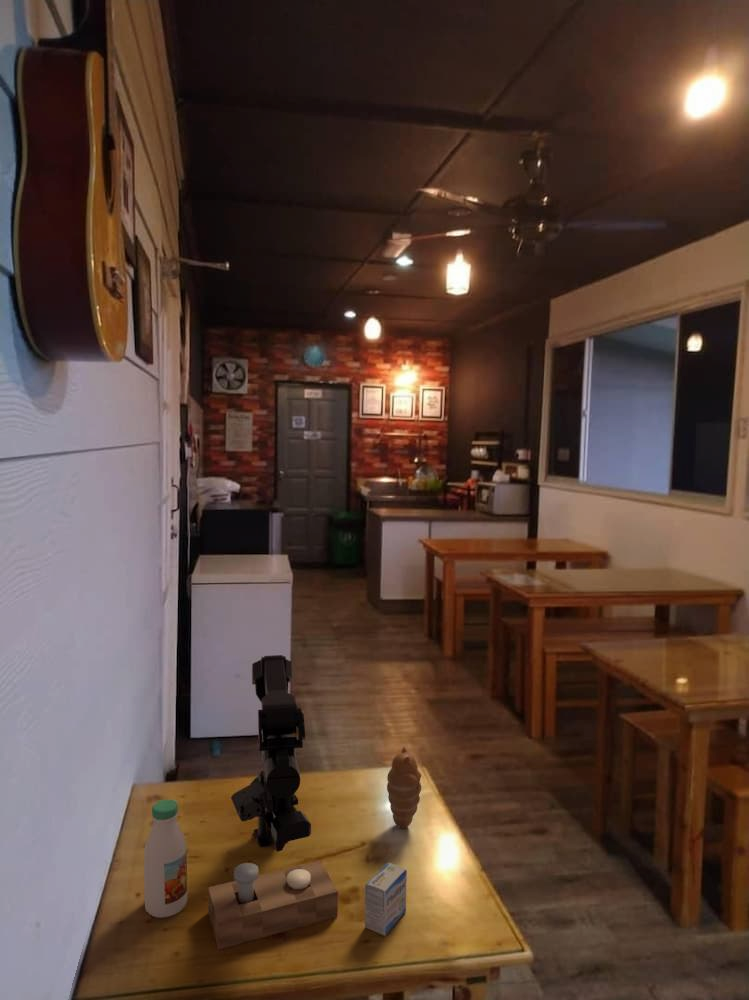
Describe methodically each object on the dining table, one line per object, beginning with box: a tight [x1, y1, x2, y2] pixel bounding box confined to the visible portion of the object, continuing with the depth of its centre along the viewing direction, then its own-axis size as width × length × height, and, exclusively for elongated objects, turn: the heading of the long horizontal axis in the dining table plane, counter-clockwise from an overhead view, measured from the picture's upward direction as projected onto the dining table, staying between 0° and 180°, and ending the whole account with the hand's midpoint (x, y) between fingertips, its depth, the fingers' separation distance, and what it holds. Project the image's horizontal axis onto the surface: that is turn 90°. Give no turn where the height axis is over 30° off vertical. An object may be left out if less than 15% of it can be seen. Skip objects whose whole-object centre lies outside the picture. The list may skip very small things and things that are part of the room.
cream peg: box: [287, 869, 311, 891], centre depth 130 cm, size 4×4×6 cm
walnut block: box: [207, 860, 339, 951], centre depth 129 cm, size 10×22×5 cm, turn 113°
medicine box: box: [364, 862, 408, 937], centre depth 128 cm, size 8×4×9 cm, turn 148°
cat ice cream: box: [386, 746, 422, 829], centre depth 157 cm, size 9×8×18 cm
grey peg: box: [233, 862, 259, 904], centre depth 126 cm, size 4×4×6 cm
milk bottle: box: [143, 799, 188, 919], centre depth 130 cm, size 8×8×20 cm
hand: (278, 850), depth 128 cm, fingers closed
